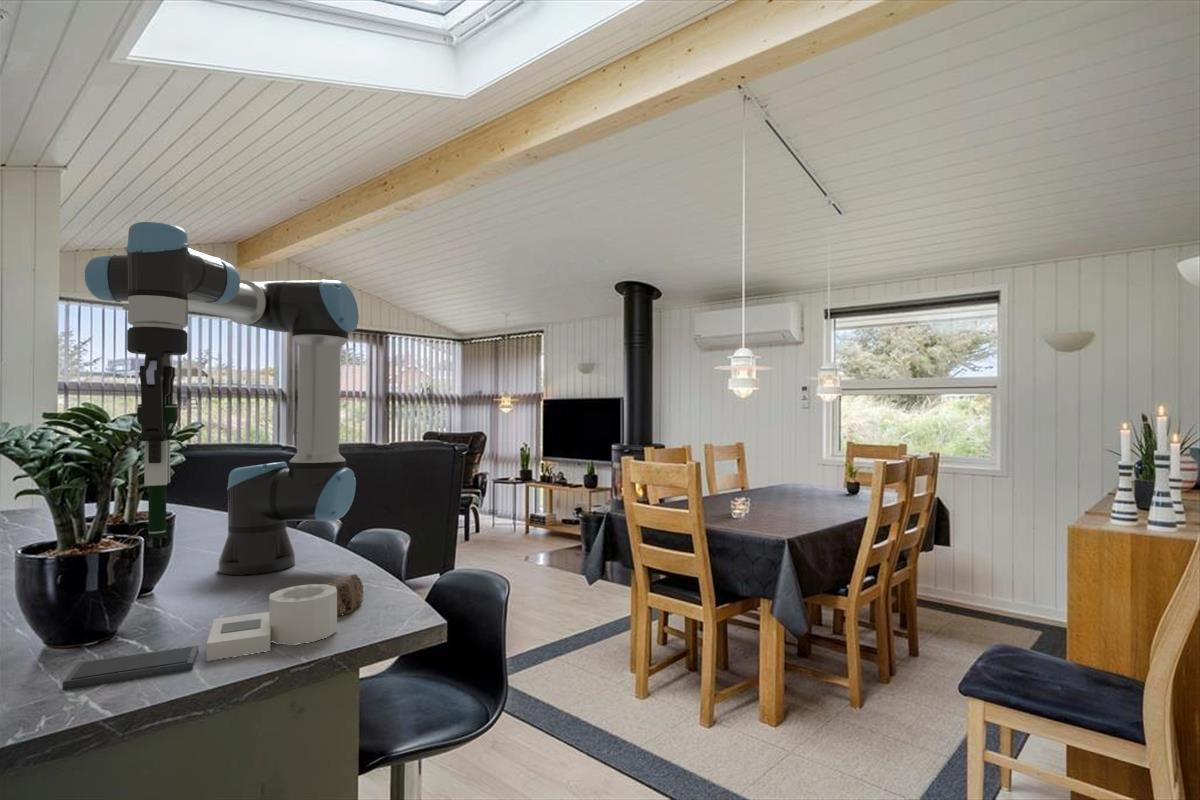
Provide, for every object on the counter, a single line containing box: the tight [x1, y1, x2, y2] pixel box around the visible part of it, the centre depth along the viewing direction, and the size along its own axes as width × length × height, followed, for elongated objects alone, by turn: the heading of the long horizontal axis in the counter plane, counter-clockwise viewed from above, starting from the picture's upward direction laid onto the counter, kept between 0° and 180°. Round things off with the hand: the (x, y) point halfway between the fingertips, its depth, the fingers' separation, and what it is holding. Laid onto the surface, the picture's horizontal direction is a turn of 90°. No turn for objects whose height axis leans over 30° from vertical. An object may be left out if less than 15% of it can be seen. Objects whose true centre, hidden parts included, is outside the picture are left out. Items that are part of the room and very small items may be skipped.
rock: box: [327, 573, 364, 617], centre depth 117 cm, size 15×10×6 cm
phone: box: [62, 644, 200, 691], centre depth 88 cm, size 7×14×1 cm, turn 116°
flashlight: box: [136, 403, 179, 539], centre depth 97 cm, size 5×5×20 cm
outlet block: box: [206, 583, 338, 662], centre depth 100 cm, size 12×17×6 cm
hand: (157, 483), depth 97 cm, fingers closed on flashlight, 2 cm apart
